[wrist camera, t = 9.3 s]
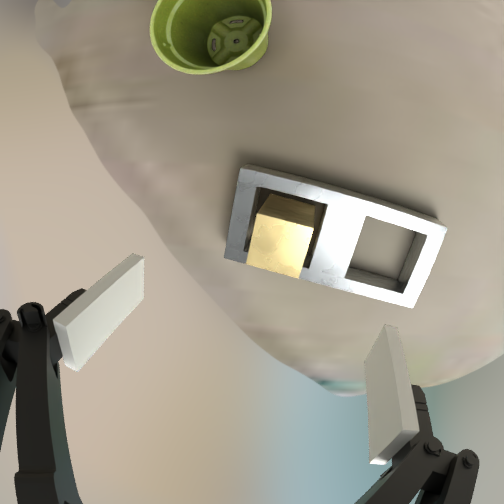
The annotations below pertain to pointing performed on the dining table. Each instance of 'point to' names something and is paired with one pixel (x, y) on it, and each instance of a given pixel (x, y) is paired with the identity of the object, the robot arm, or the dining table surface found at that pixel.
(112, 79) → the dining table surface
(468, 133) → the dining table surface
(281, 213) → the yellow rectangular block
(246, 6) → the plant pot
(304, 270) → the grey double window frame
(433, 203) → the dining table surface
